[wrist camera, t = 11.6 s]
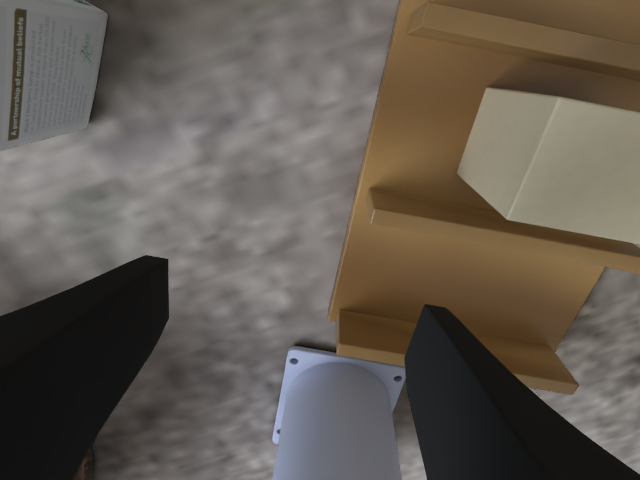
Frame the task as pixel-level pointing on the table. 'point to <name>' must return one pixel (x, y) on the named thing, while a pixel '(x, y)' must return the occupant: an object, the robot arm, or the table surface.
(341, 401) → the robot arm
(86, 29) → the syrup box
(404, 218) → the dish rack
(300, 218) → the table surface
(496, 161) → the block
